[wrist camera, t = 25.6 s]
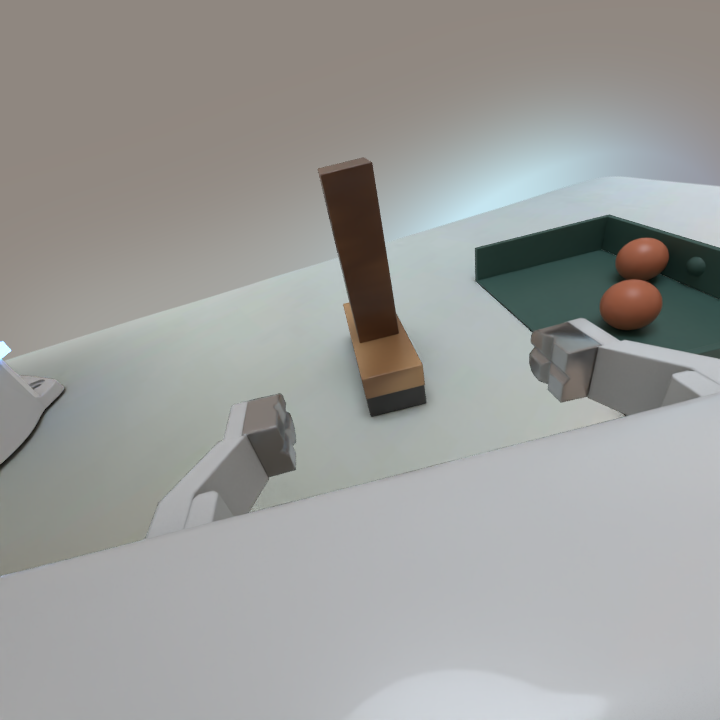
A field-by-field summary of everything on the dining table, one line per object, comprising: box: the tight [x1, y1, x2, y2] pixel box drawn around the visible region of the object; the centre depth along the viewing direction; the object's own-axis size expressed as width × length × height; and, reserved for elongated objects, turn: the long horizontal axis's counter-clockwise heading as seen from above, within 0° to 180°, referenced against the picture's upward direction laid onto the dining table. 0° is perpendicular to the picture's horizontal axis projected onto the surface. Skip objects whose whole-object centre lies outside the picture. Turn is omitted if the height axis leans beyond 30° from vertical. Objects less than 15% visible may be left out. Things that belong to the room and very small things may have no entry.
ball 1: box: [615, 238, 669, 281], centre depth 27 cm, size 3×3×3 cm
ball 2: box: [600, 279, 662, 330], centre depth 23 cm, size 3×3×3 cm
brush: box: [318, 158, 426, 416], centre depth 22 cm, size 4×10×13 cm, turn 8°
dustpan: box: [475, 215, 720, 416], centre depth 25 cm, size 21×19×3 cm
